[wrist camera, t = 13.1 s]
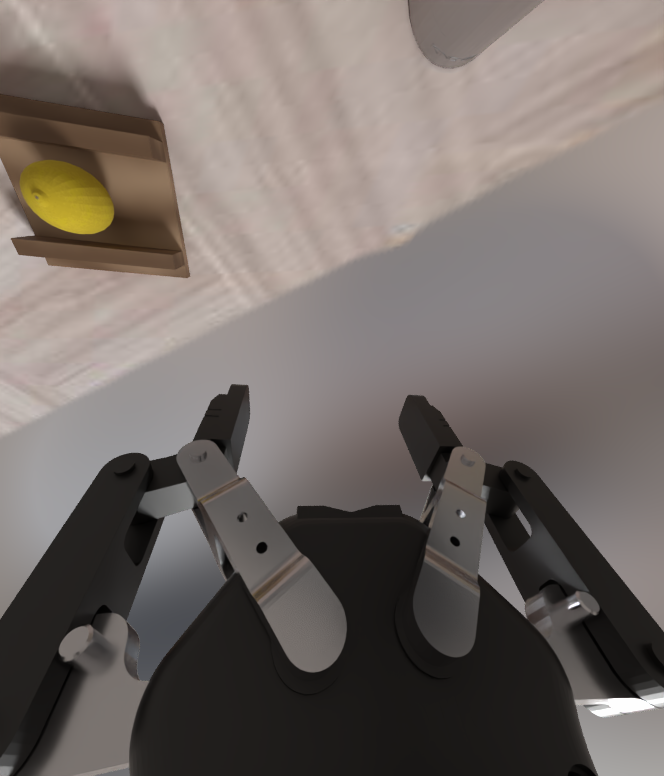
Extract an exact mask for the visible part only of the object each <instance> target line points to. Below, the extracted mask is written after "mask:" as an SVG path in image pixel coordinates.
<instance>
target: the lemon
mask: <svg viewBox="0 0 664 776" xmlns="http://www.w3.org/2000/svg"><path fill="white" fill-rule="evenodd" d="M20 189H21V192H22V195H23V197H24V199H25V201H26V202H27V204H28V205H29V207H30V208H31V209H32V210H33V211H34V212H35V213H36V214H37V215H38V216H39V217H40V218H41V219H43V220H44V221H46V222H47V223H49V224H50V225H52V226H54V227H57V228H59V229H61V230H64V231H68V232H72V233H77V234H95V233H98V232H100V231H103V230H105V229H106V228H107V227H108V226H109V225H110V224H111V222H112V220H113V218H114V205H113V202H112V199H111V197H110V195H109V193H108V192H107V190H106V189H105V188H104V186H103V185H102V184H101V183H100V182H99V181H98V180H97V179H96V178H95V177H94V176H93V175H91V174H90V173H88V172H86V171H85V170H83V169H82V168H80V167H77V166H75V165H72V164H70V163H67V162H63V161H56V160H43V161H37V162H34V163H32V164H30V165H28V166H27V167H26V168H24V170H23V172H22V173H21V176H20Z"/></svg>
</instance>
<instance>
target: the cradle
mask: <svg viewBox="0 0 664 776" xmlns="http://www.w3.org/2000/svg"><path fill="white" fill-rule="evenodd" d="M0 158H1V160H2V162H3V165H4V167H5V169H6V171H7V173H8V176H9V178H10V180H11V182H12V185H13V187H14V189H15V191H16V194H17V196H18V198H19V200H20V203H21V205H22V207H23V209H24V211H25V214H26V216H27V218H28V220H29V223H30V225H31V227H32V229H33V232H34V234H35V236H26V237H17V238H11V240H12V242H13V244H14V246H15V248H16V250H17V252H18V254H19V255H26V256H36V257H45V258H46V261H47V263H48V265H52V266H63V267H74V268H84V269H95V270H106V271H117V272H128V273H139V274H150V275H160V276H171V277H182V278H188V277H190V273H189V267H188V261H187V256H186V250H185V244H184V239H183V233H182V227H181V221H180V216H179V210H178V204H177V199H176V193H175V187H174V182H173V176H172V170H171V164H170V159H169V153H168V147H167V142H166V136H165V130H164V125H163V123H161V122H159V121H154V120H148V119H142V118H136V117H131V116H125V115H119V114H113V113H107V112H101V111H96V110H90V109H84V108H78V107H72V106H66V105H60V104H55V103H49V102H43V101H37V100H31V99H25V98H20V97H14V96H8V95H2V94H0ZM43 160H56V161H63V162H67V163H70V164H72V165H75V166H77V167H80V168H82V169H83V170H85V171H86V172H88V173H90V174H91V175H93V176H94V177H95V178H96V179H97V180H98V181H99V182H100V183H101V184H102V185H103V186H104V188H105V189H106V190H107V192H108V193H109V195H110V197H111V199H112V202H113V205H114V218H113V220H112V222H111V224H110V225H109V226H108V227H107V228H106V229H105V230H103V231H100V232H98V233H95V234H77V233H72V232H68V231H64V230H61V229H59V228H57V227H54V226H52V225H50V224H49V223H47V222H46V221H44V220H43V219H41V218H40V217H39V216H38V215H37V214H36V213H35V212H34V211H33V210H32V209H31V208H30V207H29V205H28V204H27V202H26V201H25V199H24V197H23V195H22V192H21V189H20V176H21V173H22V172H23V170H24V168H26V167H27V166H28V165H30V164H32V163H34V162H37V161H43Z"/></svg>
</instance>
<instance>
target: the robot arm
mask: <svg viewBox="0 0 664 776" xmlns="http://www.w3.org/2000/svg"><path fill="white" fill-rule="evenodd" d="M543 1H544V0H409V9H410V20H411V24H412V29H413V33H414V36H415V39H416V41H417V44H418V46H419V48H420V49H421V51H422V52H423V54H424V55H425V57H426V58H427V59H429V60H430V61H431V62H432V63H433V64H435V65H437V66H440V67H442V68H456V67H460V66H463V65H465V64H467V63H468V62H470V61H472V60H473V59H474V58H476V57H477V56H478V55H479V54H480V53H482V52H483V51H484V50H485V49H486V48H488V47H489V46H490V45H491V44H492V43H494V42H495V41H496V40H497V39H499V38H500V37H501V36H502V35H503V34H505V33H506V32H507V31H508V30H509V29H511V28H512V27H513V26H514V25H515V24H517V23H518V22H519V21H520V20H521V19H523V18H524V17H525V16H526V15H527V14H529V13H530V12H531V11H532V10H533V9H534V8H536V7H537V6H538V5H539V4H540V3H542V2H543ZM249 419H250V402H249V387H248V385H236V384H232V385H231V386H230V389H229V392H228V394H227V395H225V394H219V395H218V396H216V397H215V398H214V399H213V400H212V401H211V402H210V405H209V407H208V410H207V411H206V413H205V417H204V418H203V420H202V422H201V424H200V426H199V428H198V431H197V433H196V435H195V437H194V439H193V441H192V442H191V443H188V444H187V445H185V446H184V447H182V448H181V449H180V450H179V452H178V454H176V455H173V456H170V457H166V458H161V459H156V460H152V461H149V458H148V457H147V456H145V455H144V454H141V453H129V454H124V455H121V456H119V457H116V458H114V459H113V460H111V461H109V462H108V463H107V464H106V465H105V466H104V467H103V468H102V469H101V470H100V472H99V473H98V475H97V476H96V478H95V479H94V481H93V482H92V484H91V485H90V487H89V488H88V490H87V491H86V493H85V494H84V496H83V497H82V499H81V500H80V502H79V503H78V505H77V506H76V508H75V509H74V511H73V512H72V514H71V515H70V517H69V518H68V520H67V521H66V523H65V524H64V525H63V527H62V529H61V530H60V531H59V533H58V534H57V536H56V537H55V539H54V540H53V542H52V543H51V545H50V546H49V548H48V549H47V551H46V552H45V554H44V555H43V557H42V558H41V560H40V562H39V563H38V564H37V566H36V567H35V569H34V570H33V572H32V573H31V575H30V576H29V578H28V579H27V581H26V582H25V584H24V585H23V587H22V588H21V590H20V591H19V593H18V594H17V595H16V597H15V599H14V600H13V601H12V603H11V605H10V606H9V607H8V609H7V610H6V612H5V613H4V615H3V616H2V618H1V619H0V776H94V775H99V774H102V773H107V772H111V771H116V770H119V769H124V768H128V767H129V770H130V776H598V774H597V772H596V769H595V767H594V764H593V762H592V759H591V756H590V754H589V751H588V749H587V745H586V742H585V739H584V736H583V733H582V729H581V726H580V722H579V719H578V714H577V709H576V705H583V706H585V707H586V708H587V709H588V710H589V711H591V712H592V713H594V714H596V715H598V716H600V717H613V716H619V715H625V714H631V713H637V712H643V711H649V710H655V709H662V708H664V632H663V630H662V629H661V628H660V627H659V625H658V624H657V623H656V622H655V621H654V619H653V618H652V617H651V616H650V614H649V613H648V612H647V610H646V609H645V608H644V607H643V606H642V604H641V603H640V602H639V600H638V599H637V598H636V597H635V596H634V594H633V593H632V592H631V591H630V589H629V588H628V587H627V585H626V584H625V583H624V582H623V580H622V579H621V578H620V577H619V576H618V574H617V573H616V572H615V571H614V569H613V568H612V567H611V566H610V564H609V563H608V562H607V561H606V559H605V558H604V557H603V556H602V554H601V553H600V552H599V551H598V549H597V548H596V547H595V546H594V544H593V543H592V542H591V541H590V539H589V538H588V537H587V536H586V534H585V533H584V532H583V531H582V529H581V528H580V527H579V526H578V524H577V523H576V522H575V521H574V519H573V518H572V517H571V516H570V514H569V513H568V512H567V511H566V510H565V508H564V507H563V506H562V504H561V503H560V502H559V501H558V500H557V498H556V497H555V496H554V495H553V493H552V492H551V491H550V489H549V488H548V487H547V486H546V485H545V483H544V482H543V481H542V480H541V478H540V477H539V476H538V475H537V473H536V472H535V471H533V470H532V469H531V468H530V467H528V466H527V465H525V464H523V463H520V462H517V461H508V462H506V463H505V464H504V466H503V467H498V466H494V465H491V464H487V463H485V462H484V460H483V458H482V457H481V456H480V455H479V454H478V453H476V452H475V451H473V450H471V449H469V448H466V447H463V445H462V444H461V443H460V441H459V439H458V438H457V436H456V435H455V434H454V432H453V430H452V429H451V427H449V424H448V423H447V421H445V418H444V417H443V415H442V414H441V412H440V411H438V410H437V409H436V408H435V407H433V406H430V404H429V403H428V401H427V400H426V398H425V397H424V396H418V395H408V396H407V398H406V401H405V403H404V406H403V409H402V411H401V414H400V417H399V429H400V431H401V433H402V435H403V438H404V440H405V443H406V445H407V447H408V450H409V452H410V454H411V457H412V459H413V461H414V464H415V466H416V468H417V471H418V473H419V475H420V478H421V480H422V481H432V483H433V486H432V487H431V489H430V492H429V495H428V498H427V501H426V503H425V506H424V509H423V512H422V515H421V517H420V520H419V521H418V520H417V519H415V518H413V517H411V516H408V515H405V514H402V511H401V508H400V505H375V506H372V507H368V508H365V509H361V510H358V511H355V512H347V511H343V510H339V509H335V508H331V507H326V506H298V507H297V514H296V515H293V516H290V517H288V518H285V519H283V520H282V521H280V522H278V521H277V520H276V519H275V517H274V516H273V515H272V513H271V512H270V510H269V509H268V507H267V506H266V505H265V503H264V502H263V500H262V499H261V498H260V496H259V495H258V494H257V492H256V491H255V489H254V488H253V487H252V485H251V484H250V482H249V481H248V480H247V479H246V478H245V477H243V478H239V476H238V475H237V470H238V465H239V461H240V457H241V453H242V449H243V445H244V441H245V437H246V433H247V428H248V424H249ZM188 509H192V511H193V513H194V515H195V517H196V519H197V521H198V523H199V525H200V527H201V529H202V531H203V533H204V535H205V537H206V539H207V541H208V543H209V545H210V548H211V550H212V553H213V555H214V558H215V560H216V562H217V565H218V567H219V569H220V571H221V573H222V575H223V577H224V579H225V581H226V582H225V584H224V585H223V586H222V587H221V589H220V590H219V591H218V592H217V593H216V595H215V596H214V597H213V599H212V600H211V601H210V602H209V603H208V604H207V606H206V607H205V608H204V609H203V610H202V612H201V613H200V614H199V615H198V617H197V618H196V619H195V620H194V621H193V623H192V624H191V625H190V626H189V627H188V629H187V630H186V631H185V632H184V633H183V635H182V636H181V637H180V638H179V640H178V641H177V642H176V643H175V644H174V646H173V647H172V648H171V649H170V650H169V652H168V653H167V654H166V656H165V657H164V658H163V660H162V661H161V662H160V664H159V665H158V667H157V669H156V670H155V672H154V673H153V675H152V677H151V679H150V681H140V679H139V677H138V674H137V660H138V655H139V650H140V640H139V636H138V634H137V632H136V631H135V630H134V629H133V628H132V627H131V626H130V624H129V623H128V622H127V621H126V620H127V617H128V615H129V612H130V610H131V607H132V604H133V601H134V599H135V596H136V593H137V591H138V588H139V585H140V583H141V580H142V577H143V574H144V572H145V569H146V566H147V563H148V561H149V558H150V555H151V553H152V550H153V547H154V545H155V542H156V539H157V537H158V534H159V531H160V529H161V526H162V523H163V520H164V517H165V516H168V515H171V514H174V513H178V512H181V511H185V510H188ZM519 509H520V510H521V512H522V513H523V515H524V516H525V518H526V519H527V521H528V522H529V524H530V526H531V530H532V535H531V537H530V536H529V534H528V533H527V531H526V529H525V528H524V526H523V525H522V523H521V522H520V520H519V518H518V517H517V515H516V514H515V513H516V512H517V511H518V510H519ZM484 523H485V525H486V527H487V529H488V531H489V533H490V535H491V537H492V538H493V541H494V543H495V544H496V547H497V549H498V551H499V552H500V555H501V556H502V558H503V560H504V562H505V564H506V566H507V568H508V570H509V572H510V574H511V576H512V578H513V580H514V582H515V584H516V586H517V588H518V590H519V592H520V593H521V595H522V597H523V599H524V601H525V613H526V617H527V619H526V618H525V617H524V616H523V615H522V614H521V613H520V612H519V611H518V610H517V609H516V608H515V607H513V606H512V605H511V604H510V603H509V602H508V601H507V600H506V599H505V598H504V597H503V596H502V595H501V594H499V593H498V592H497V591H496V590H495V589H494V588H493V587H492V586H491V585H490V584H489V583H488V582H486V581H485V580H484V579H483V578H482V577H481V576H480V575H479V574H478V569H479V561H480V553H481V545H482V536H483V528H484Z"/></svg>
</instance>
